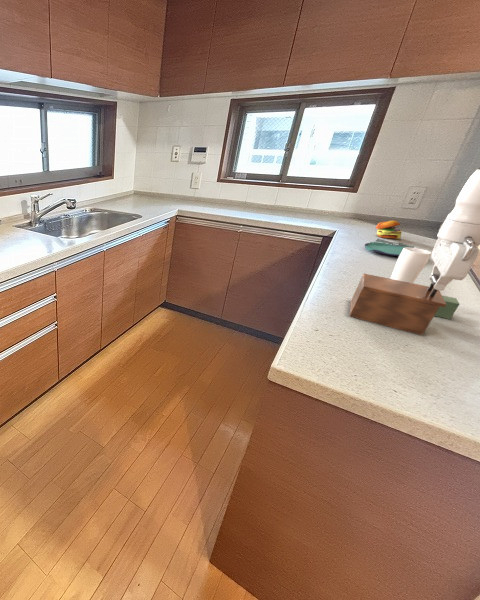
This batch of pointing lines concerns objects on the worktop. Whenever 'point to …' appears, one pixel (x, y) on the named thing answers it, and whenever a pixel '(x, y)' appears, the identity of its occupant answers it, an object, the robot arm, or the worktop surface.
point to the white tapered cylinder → (410, 264)
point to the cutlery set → (386, 247)
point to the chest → (391, 310)
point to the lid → (404, 289)
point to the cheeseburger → (388, 230)
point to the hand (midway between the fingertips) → (435, 284)
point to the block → (447, 307)
